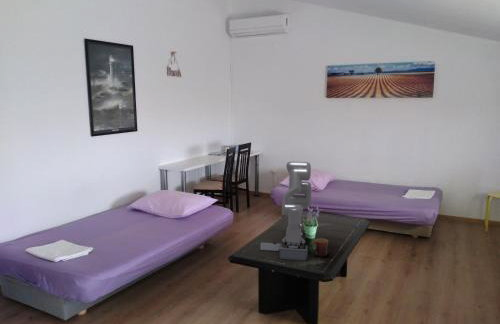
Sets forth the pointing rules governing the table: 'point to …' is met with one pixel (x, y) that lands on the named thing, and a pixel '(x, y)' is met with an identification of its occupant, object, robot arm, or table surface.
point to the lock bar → (270, 246)
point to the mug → (320, 247)
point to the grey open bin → (293, 253)
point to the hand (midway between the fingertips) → (293, 251)
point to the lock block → (293, 245)
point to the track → (268, 250)
